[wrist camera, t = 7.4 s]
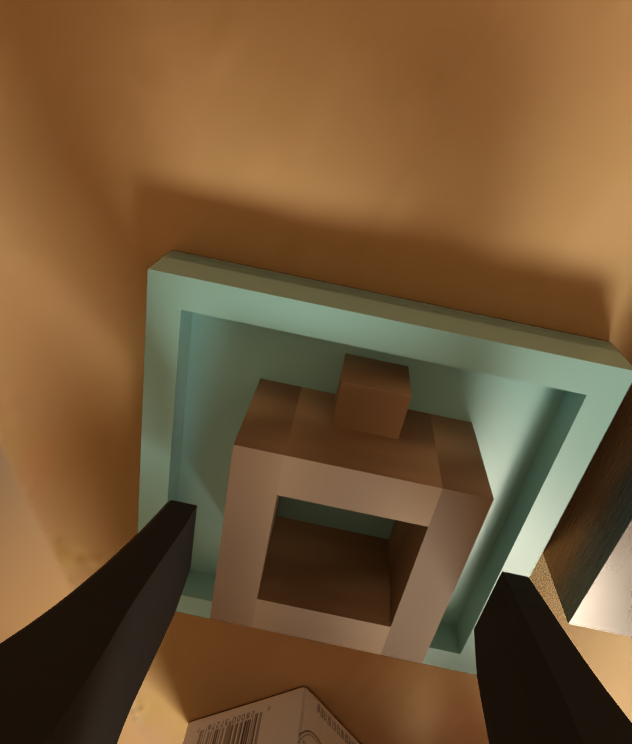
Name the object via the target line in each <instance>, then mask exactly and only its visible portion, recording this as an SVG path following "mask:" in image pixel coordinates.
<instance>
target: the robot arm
mask: <svg viewBox="0 0 632 744" xmlns="http://www.w3.org/2000/svg"><path fill="white" fill-rule="evenodd" d="M196 512H197V505H193V504H188V503H184V502H179V501H175V500H170V501H169V502H167V503H166V504H165V505H164V506H163V507H162V508H161V509H160V511H159V512H158V513H157V514H156V515H155V516H154V517H153V518H152V519H151V520H150V521H149V522H148V523H147V524H146V525H145V527H144V528H143V529H142V530H141V531H140V532H139V533H138V534H137V535H136V536H135V537H134V538H133V539H132V540H130V541H129V542H128V543H127V544H126V545H125V546H124V547H123V548H122V549H121V550H120V551H119V552H118V553H117V554H116V555H114V556H113V557H112V558H111V559H110V560H109V561H108V562H107V563H106V564H105V565H104V566H102V567H101V568H100V569H99V570H98V571H97V572H95V573H94V574H93V575H92V576H91V577H89V578H88V579H87V580H86V581H85V582H83V583H82V584H81V585H80V586H79V587H78V588H76V589H75V590H74V591H73V592H71V593H70V594H69V595H68V596H67V597H65V598H64V599H63V600H61V601H60V602H59V603H58V604H56V605H55V606H53V607H52V608H51V609H49V610H48V611H47V612H45V613H44V614H43V615H41V616H40V617H38V618H37V619H36V620H34V621H33V622H32V623H30V624H29V625H27V626H26V627H25V628H23V629H21V630H20V631H18V632H17V633H15V634H14V635H12V636H11V637H9V638H8V639H6V640H5V641H4V642H2V643H0V744H117V742H118V739H119V736H120V734H121V731H122V728H123V726H124V723H125V721H126V718H127V716H128V714H129V711H130V709H131V707H132V704H133V702H134V700H135V698H136V696H137V693H138V691H139V689H140V687H141V685H142V683H143V681H144V678H145V676H146V674H147V672H148V670H149V668H150V665H151V663H152V661H153V659H154V657H155V655H156V653H157V650H158V648H159V646H160V644H161V642H162V640H163V637H164V635H165V633H166V631H167V629H168V627H169V624H170V622H171V620H172V618H173V616H174V614H175V611H176V609H177V606H178V603H179V600H180V597H181V595H182V592H183V589H184V586H185V583H186V580H187V577H188V574H189V571H190V568H191V559H192V550H193V540H194V531H195V521H196ZM474 640H475V657H476V670H477V679H478V685H479V690H480V696H481V701H482V707H483V712H484V718H485V723H486V728H487V734H488V739H489V744H632V723H631V721H630V720H629V719H628V718H627V716H626V715H625V714H624V712H623V711H622V710H621V709H620V707H619V706H618V705H617V703H616V702H615V701H614V700H613V698H612V697H611V696H610V694H609V693H608V692H607V690H606V689H605V688H604V686H603V685H602V684H601V682H600V681H599V680H598V678H597V677H596V676H595V674H594V673H593V671H592V670H591V669H590V667H589V666H588V664H587V663H586V662H585V660H584V659H583V657H582V656H581V654H580V653H579V652H578V650H577V649H576V647H575V646H574V644H573V643H572V641H571V640H570V639H569V637H568V636H567V634H566V633H565V631H564V630H563V628H562V627H561V625H560V624H559V622H558V621H557V619H556V618H555V616H554V615H553V613H552V612H551V610H550V609H549V607H548V606H547V604H546V603H545V601H544V600H543V598H542V597H541V595H540V594H539V592H538V591H537V589H536V588H535V586H534V585H533V583H532V582H531V580H530V579H529V577H527V576H522V575H518V574H513V573H509V572H504V571H502V572H501V574H500V576H499V579H498V581H497V583H496V585H495V587H494V589H493V591H492V593H491V595H490V597H489V599H488V601H487V603H486V605H485V607H484V609H483V611H482V613H481V615H480V617H479V619H478V622H477V624H476V626H475V628H474Z"/></svg>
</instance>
